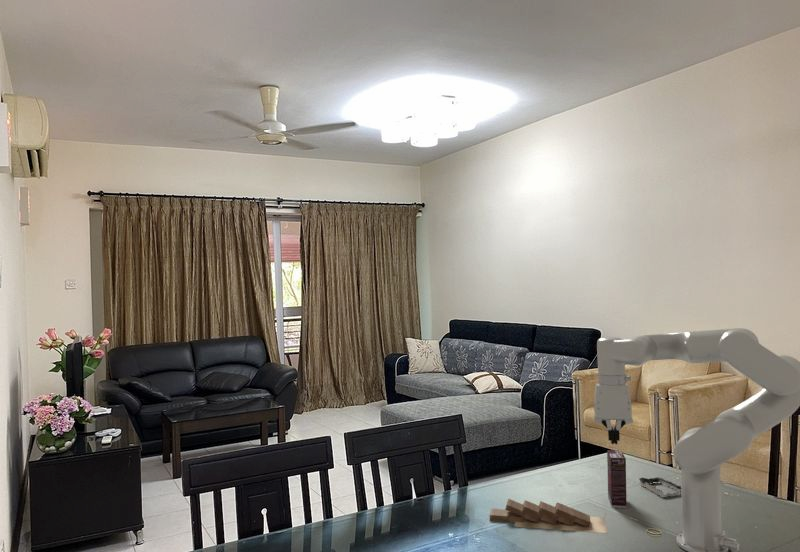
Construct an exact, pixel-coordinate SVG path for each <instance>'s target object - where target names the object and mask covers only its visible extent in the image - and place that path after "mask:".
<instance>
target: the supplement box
mask: <svg viewBox="0 0 800 552" xmlns="http://www.w3.org/2000/svg"><path fill="white" fill-rule="evenodd" d="M606 453H607V455H606V456H607V498H608V502H609V503H610V507H611V508H623V509H624V508H626V509H627V507H628V506H627V504H628V503H627V463H626V461H627V459H626V457H625V455H624V453H623V451H622V450H616V449H615V450H613V449H611V450H610V449H609V450H607V451H606Z"/></svg>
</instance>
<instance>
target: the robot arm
mask: <svg viewBox="0 0 800 552" xmlns="http://www.w3.org/2000/svg"><path fill="white" fill-rule="evenodd" d="M596 351H597V353H596V354H597V355H596V357H597V381H598V383H595V387H594V393H593V394H594V397H593V398H594V399H593V400H594V403H593V409H594V410H593V411H594V418H593V421H594V423H597V424H601V425H603V426H604V427H605V428H606V429H607V436H608V437H607V438H608V441H610V443H611V445H618V441H620V430H621V429H622V428H623V427H625V425H630V424H633V423H634V420H633V417H632V416H633V411H632V410H633V409H632V400H631V393H630V388H629V384H628V383H627V382H631V381H632V377H631V376H630V375H627V374H626V365H629V366H641V365H644V364H646V363H647V362H650V361H661V360H662V361H663V360H677V361H679V360H680V361H684V362H686V363H690V364H707V363H708V364H710V363H727V364H728V365H730V366H731V367H732V368H734V369H735V370H736V371H738V372H739V373H740V374H742V375H743V376H745V377H747V378H748V379H749V380H751V381H753V383H755V384H756V385H758V386H760V387H761V388H762V389H761V390H760V391H758V392H756V393H755V394H753V395H752V396H750V397H749V398H747V399H745V400H744V401H742V402H740V403H738V404H736V405H735V406H733V407H731V408H729V409H726V410H724V411H722V412H720V414H718V415H717V416H716V417H715V419H714V420H713V421H711V422H709V423H708V424H706V425H704V426H703V427H702V426H701V427H700V426H699V427H693V428H690V429H687V431H685V432H684V433H683V434H682V436H681V437H680V438H679V439H678V440H677V442H676V444H675V445H674V447H673V459H674V462H675V464H676V465H677V466H678V467H679V469H680V486H681V492H680V493H681V495H680V496H681V524H682V525H681V526H682V528H681V531H682V532H681V533H679V534H678V535H677V536H676V541H675V542H676V545H677V546H679V547H680V548H681V549H683V550H684V551H686V552H729V549H730V550H733V551H737V552H738V551H739V550H740V544H739V542H737V541H738V540H737V539H735V538H729V537H728V536H727V535H726V531H725V530H723V529H722V503H721V499H722V498H721V491H722V489H721V466H722V465H724V464H725V463H727V462H729V461H730V460H733V459H734V458H737V457H738V456H740V455H742V454H743V453H744V452H746V451H747V450H748V449H749V448H750V447H751V446H752V444H753V442H754V440H755V439H756V438H757V437H758V436H760V435H762V434H763V433H765V432H766V431H768V430H770V429H772V428H774V427H775V426H777V425H779V424H780V423H782V422H783V421H785V420H787V419H788V418H790V416H792V415H793V414H795V412H796V411H797V410H798V409H799V408H800V361H799V360H798V359H796V358H795V357H793V356H790V355H786V354H785V355H783V354H782V355H777V354H776V353H775V352H773V351H771V350H769V349H768V348H767V347H765V346H764V345H762V344H761V343H760V342H759V339H758V337H757V335H756V334H755V333H754V332H753V331H751V330H750V329H747V328H738V327H735V328H725V329H723V328H722V329H711V330H697V331H696V330H695V331H685V332H684V331H682V332H673V333H657V334H656V333H654V334H643V335H639V336H635V337H632V338H629V339H622V338H620V337H618V336H617V337H615V336H607V337H604V336H603V337H600V338H598V339H597V342H596ZM614 420H615V425H614V426H612V421H614Z"/></svg>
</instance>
